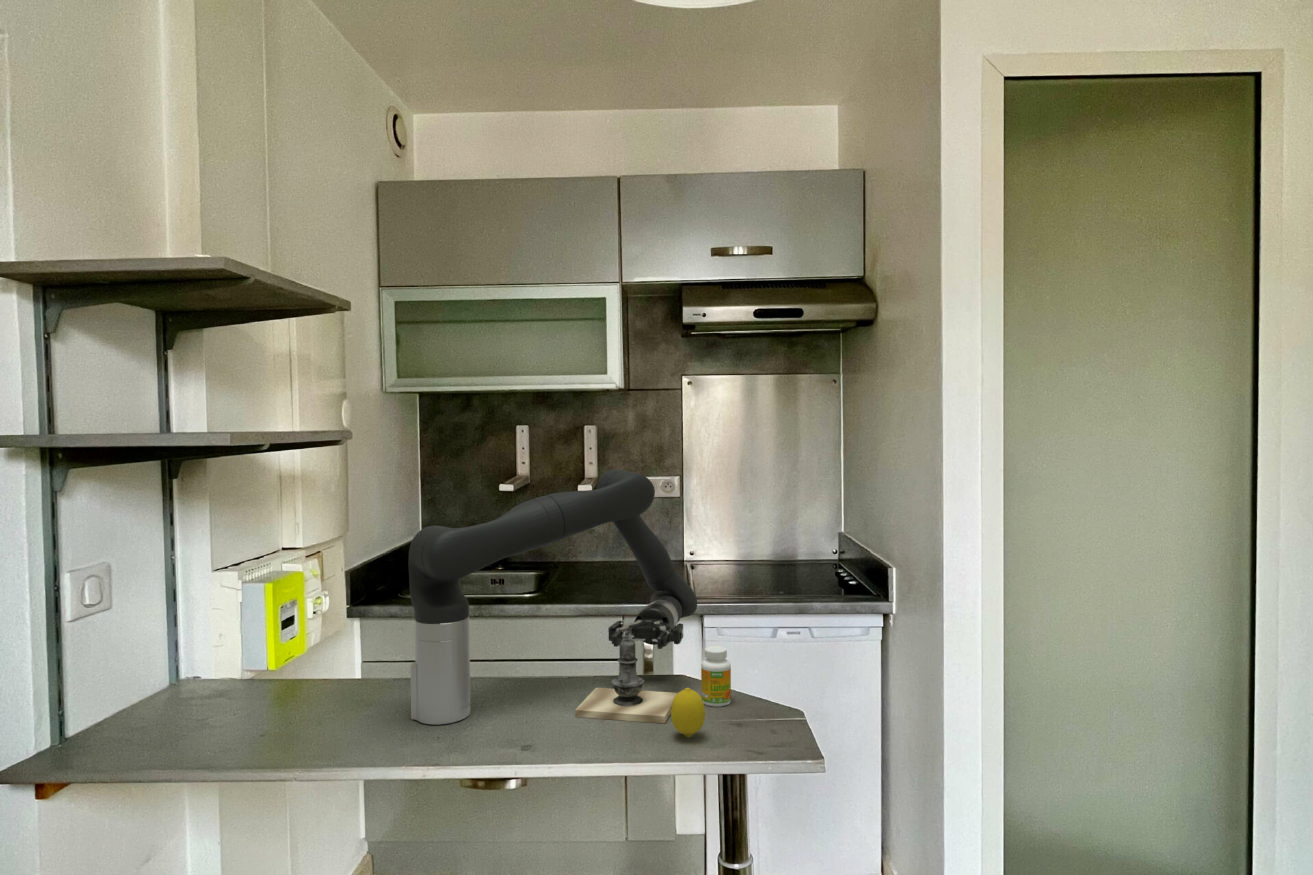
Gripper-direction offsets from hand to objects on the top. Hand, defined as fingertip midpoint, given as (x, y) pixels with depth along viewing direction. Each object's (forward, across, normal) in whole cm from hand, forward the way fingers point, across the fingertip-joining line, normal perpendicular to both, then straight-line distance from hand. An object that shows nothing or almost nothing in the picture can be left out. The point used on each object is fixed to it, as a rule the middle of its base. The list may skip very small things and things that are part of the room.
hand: (637, 642), depth 143 cm
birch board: (+6, 0, +10) cm, 12 cm away
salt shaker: (+6, 0, +9) cm, 11 cm away
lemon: (+17, +13, +10) cm, 24 cm away
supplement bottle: (0, +15, +10) cm, 18 cm away
